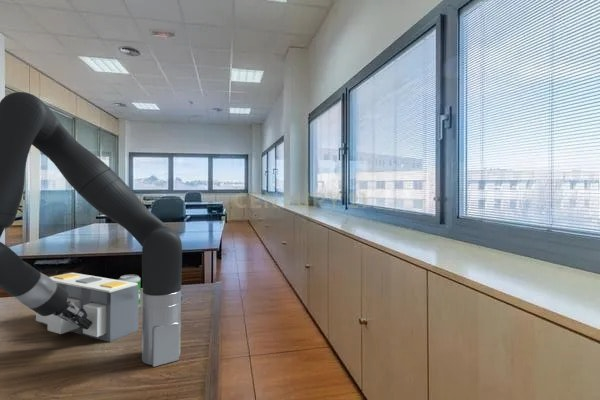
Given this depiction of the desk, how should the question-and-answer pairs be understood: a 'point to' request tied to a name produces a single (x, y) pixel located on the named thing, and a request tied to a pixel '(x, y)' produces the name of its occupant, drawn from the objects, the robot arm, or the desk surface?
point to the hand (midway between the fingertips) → (88, 325)
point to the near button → (96, 318)
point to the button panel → (105, 301)
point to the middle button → (62, 325)
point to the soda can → (132, 279)
